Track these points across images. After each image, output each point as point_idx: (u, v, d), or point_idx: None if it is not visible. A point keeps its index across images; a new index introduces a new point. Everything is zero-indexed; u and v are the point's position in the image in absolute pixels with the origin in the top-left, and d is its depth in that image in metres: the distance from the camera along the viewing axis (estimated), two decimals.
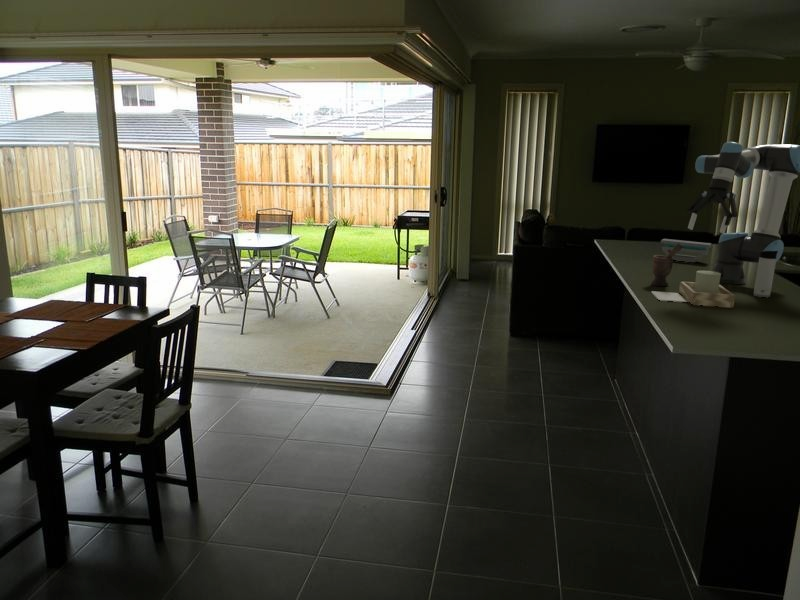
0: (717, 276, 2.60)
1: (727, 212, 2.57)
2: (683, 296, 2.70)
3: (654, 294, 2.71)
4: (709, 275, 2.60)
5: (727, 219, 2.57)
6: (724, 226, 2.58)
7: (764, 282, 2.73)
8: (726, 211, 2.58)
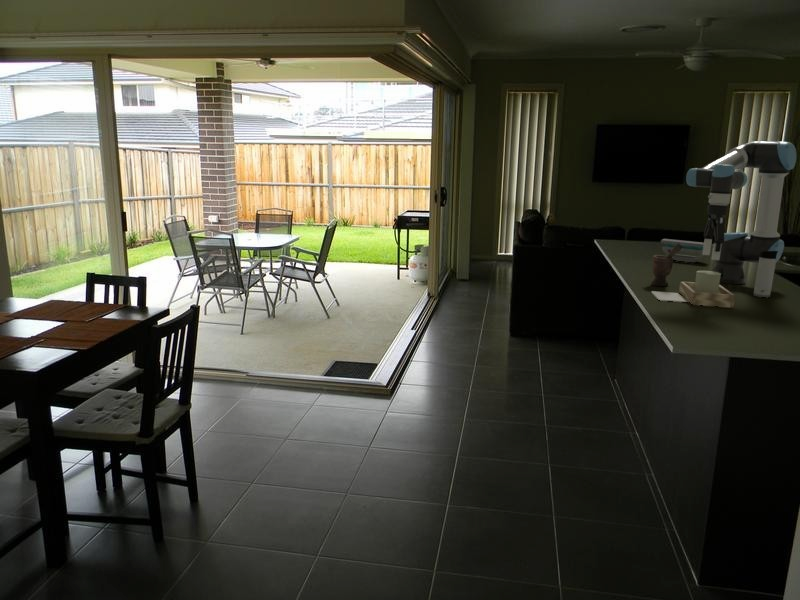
0: (717, 276, 2.60)
1: (715, 239, 2.54)
2: (683, 296, 2.70)
3: (654, 294, 2.71)
4: (709, 275, 2.60)
5: (716, 246, 2.54)
6: (715, 253, 2.55)
7: (764, 282, 2.73)
8: (715, 238, 2.54)
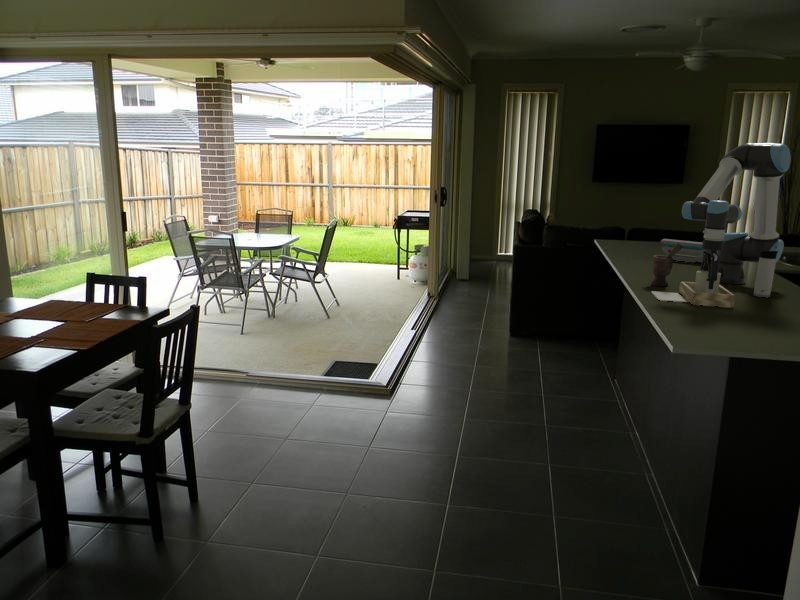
0: (717, 276, 2.60)
1: (708, 276, 2.59)
2: (683, 296, 2.70)
3: (654, 294, 2.71)
4: None
5: (709, 283, 2.59)
6: (709, 290, 2.60)
7: (764, 282, 2.73)
8: (708, 275, 2.59)
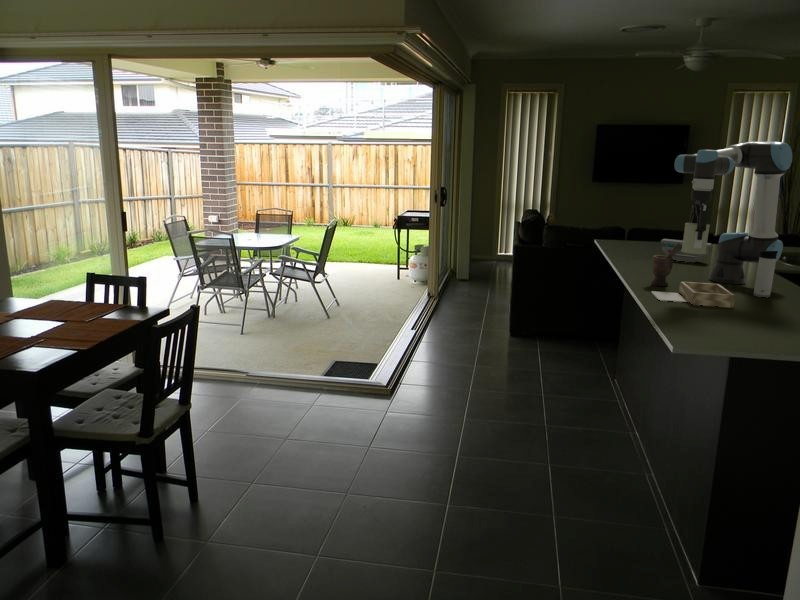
0: (706, 227, 2.56)
1: (697, 227, 2.55)
2: (683, 296, 2.70)
3: (654, 294, 2.71)
4: None
5: (698, 234, 2.56)
6: (697, 241, 2.57)
7: (764, 282, 2.73)
8: (697, 225, 2.56)
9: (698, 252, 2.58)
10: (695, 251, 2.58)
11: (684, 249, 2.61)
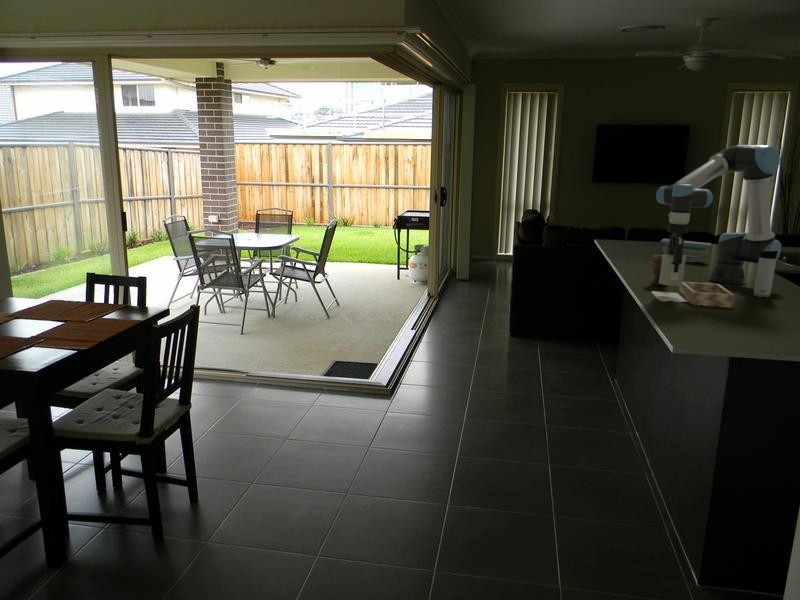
0: (682, 259, 2.61)
1: (673, 259, 2.60)
2: (683, 296, 2.70)
3: (654, 294, 2.71)
4: None
5: (674, 267, 2.60)
6: (674, 273, 2.61)
7: (764, 282, 2.73)
8: (673, 258, 2.60)
9: (674, 284, 2.63)
10: (671, 283, 2.63)
11: (661, 281, 2.66)
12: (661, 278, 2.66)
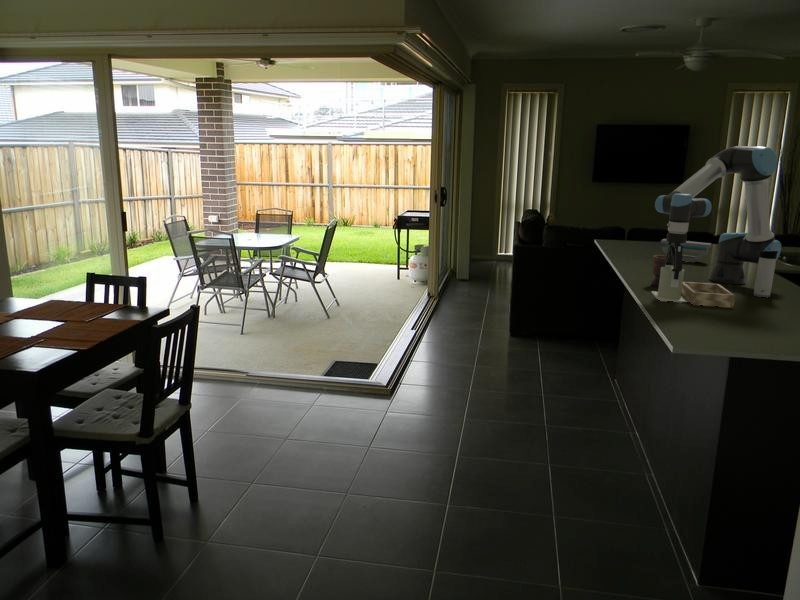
0: (680, 272, 2.62)
1: (673, 267, 2.59)
2: (683, 296, 2.70)
3: (654, 294, 2.71)
4: (672, 271, 2.62)
5: (674, 274, 2.59)
6: (674, 280, 2.60)
7: (764, 282, 2.73)
8: (673, 265, 2.59)
9: (673, 297, 2.64)
10: (670, 295, 2.64)
11: (660, 293, 2.67)
12: (660, 291, 2.67)
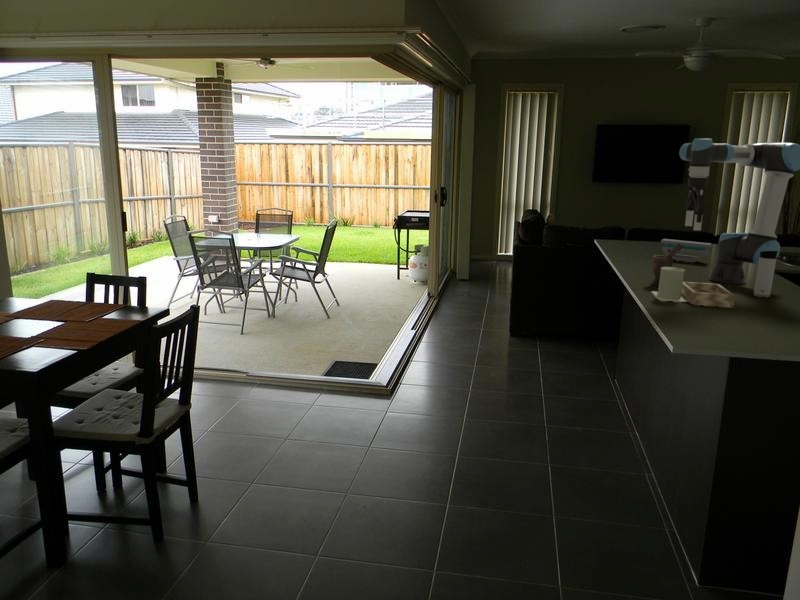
0: (680, 272, 2.62)
1: (696, 210, 2.65)
2: (683, 296, 2.70)
3: (654, 294, 2.71)
4: (673, 271, 2.62)
5: (697, 217, 2.65)
6: (697, 223, 2.66)
7: (764, 282, 2.73)
8: (696, 209, 2.65)
9: (673, 297, 2.64)
10: (670, 295, 2.64)
11: (660, 293, 2.67)
12: (660, 291, 2.67)
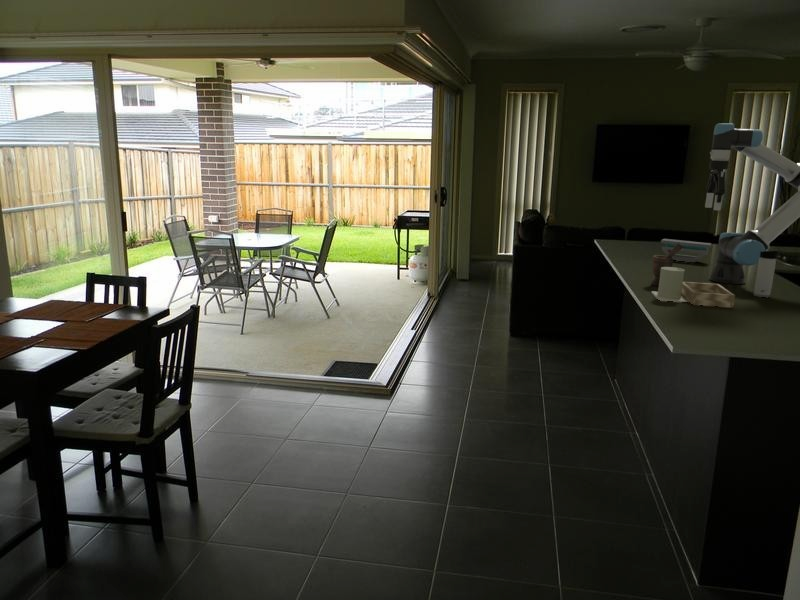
0: (680, 272, 2.62)
1: (716, 191, 2.80)
2: (683, 296, 2.70)
3: (654, 294, 2.71)
4: (672, 271, 2.62)
5: (717, 197, 2.80)
6: (717, 204, 2.81)
7: (764, 282, 2.73)
8: (716, 190, 2.81)
9: (673, 297, 2.64)
10: (670, 295, 2.64)
11: (660, 293, 2.67)
12: (659, 291, 2.67)
